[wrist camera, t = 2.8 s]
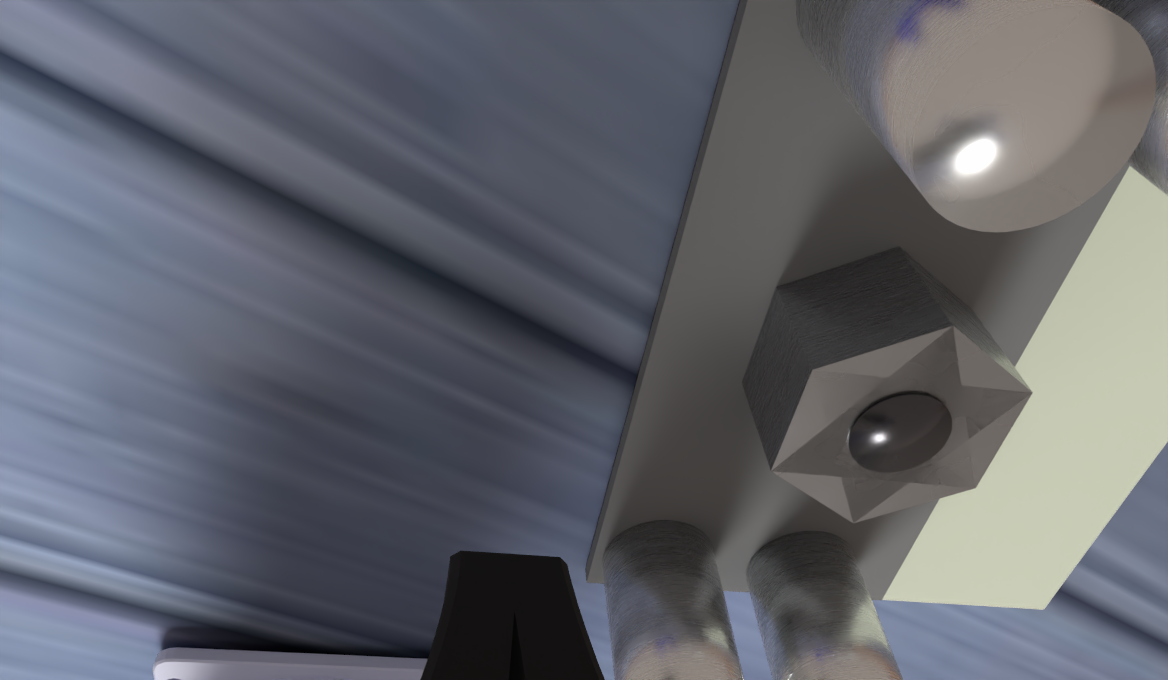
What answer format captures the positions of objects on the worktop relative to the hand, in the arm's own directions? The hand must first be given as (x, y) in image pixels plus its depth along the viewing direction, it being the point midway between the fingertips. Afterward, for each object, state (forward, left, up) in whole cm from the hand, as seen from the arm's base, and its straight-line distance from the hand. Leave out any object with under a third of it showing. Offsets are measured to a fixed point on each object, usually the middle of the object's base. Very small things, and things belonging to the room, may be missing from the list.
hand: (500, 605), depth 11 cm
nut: (0, -7, -7) cm, 10 cm away
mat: (0, -9, -7) cm, 11 cm away
